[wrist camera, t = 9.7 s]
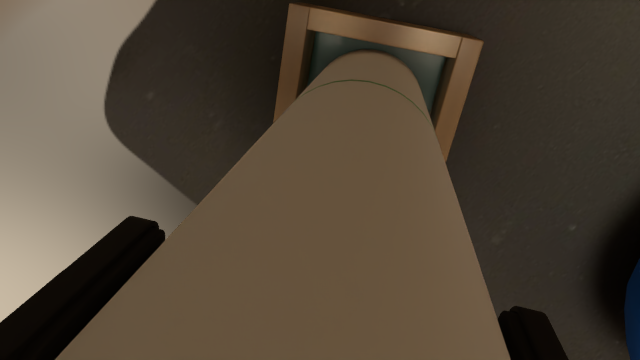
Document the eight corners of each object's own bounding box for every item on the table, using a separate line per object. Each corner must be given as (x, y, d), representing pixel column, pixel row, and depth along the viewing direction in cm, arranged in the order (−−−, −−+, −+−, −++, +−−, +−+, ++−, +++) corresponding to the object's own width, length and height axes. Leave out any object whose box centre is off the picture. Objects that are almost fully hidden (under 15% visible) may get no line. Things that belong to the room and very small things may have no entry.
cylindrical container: (289, 112, 29) (-104, 559, 6) (359, 24, 26) (136, 216, 3) (370, 179, 30) (306, 785, 7) (446, 100, 27) (766, 681, 4)
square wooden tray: (280, 158, 32) (265, 178, 28) (302, 2, 28) (289, 2, 24) (424, 189, 31) (429, 215, 28) (471, 35, 27) (484, 40, 23)
